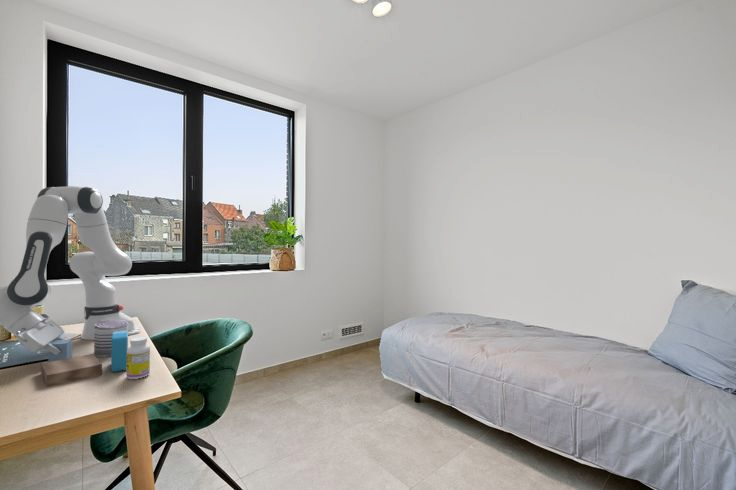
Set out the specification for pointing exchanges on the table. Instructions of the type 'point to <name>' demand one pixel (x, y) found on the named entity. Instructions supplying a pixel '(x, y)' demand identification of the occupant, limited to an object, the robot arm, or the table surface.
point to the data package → (119, 351)
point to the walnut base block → (70, 369)
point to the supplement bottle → (138, 358)
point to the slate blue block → (65, 350)
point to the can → (106, 335)
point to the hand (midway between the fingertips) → (62, 349)
